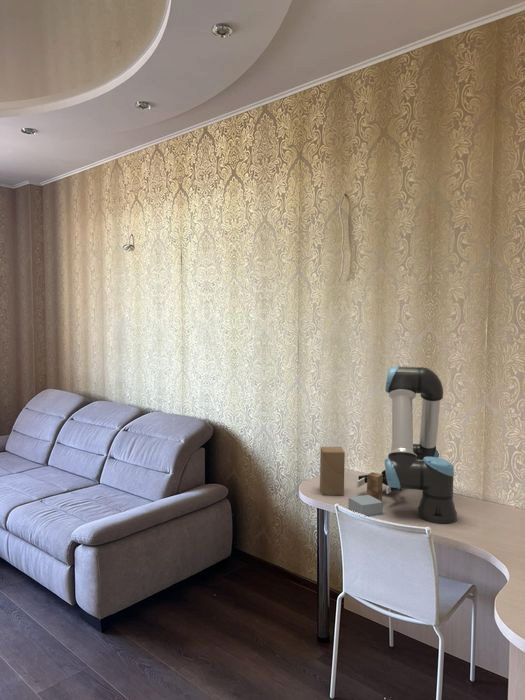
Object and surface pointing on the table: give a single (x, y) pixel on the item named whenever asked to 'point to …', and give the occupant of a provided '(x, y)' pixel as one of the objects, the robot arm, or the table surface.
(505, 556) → the table surface
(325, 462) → the wooden block
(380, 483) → the walnut block
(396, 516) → the table surface
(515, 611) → the table surface
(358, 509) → the grey base block
